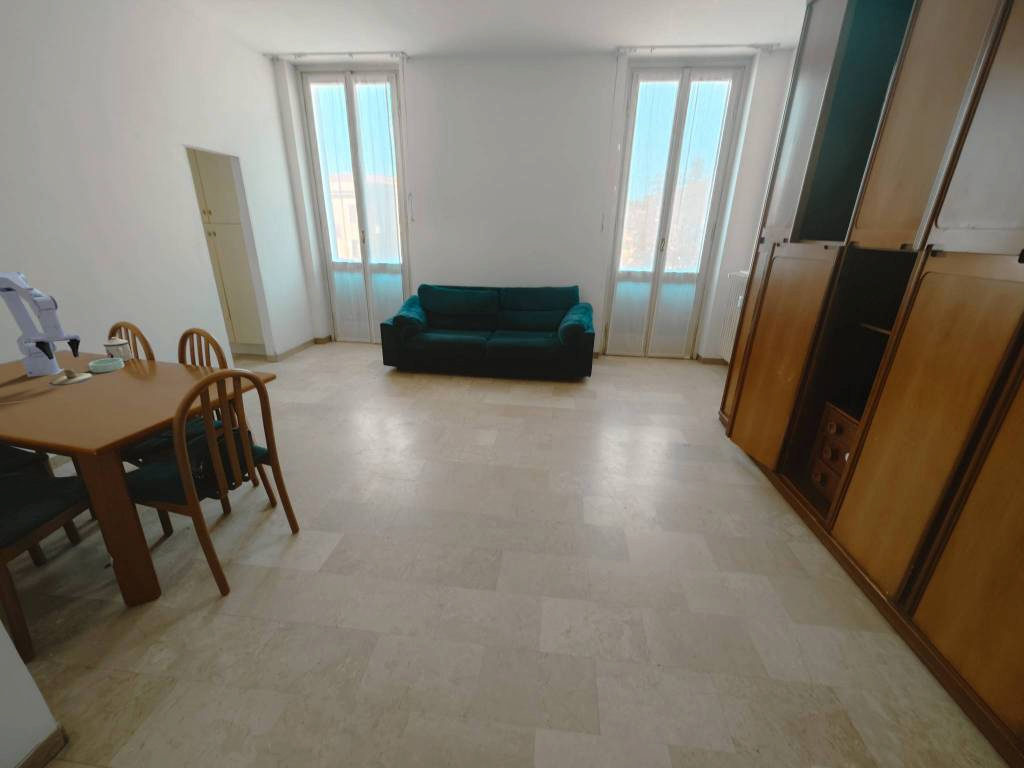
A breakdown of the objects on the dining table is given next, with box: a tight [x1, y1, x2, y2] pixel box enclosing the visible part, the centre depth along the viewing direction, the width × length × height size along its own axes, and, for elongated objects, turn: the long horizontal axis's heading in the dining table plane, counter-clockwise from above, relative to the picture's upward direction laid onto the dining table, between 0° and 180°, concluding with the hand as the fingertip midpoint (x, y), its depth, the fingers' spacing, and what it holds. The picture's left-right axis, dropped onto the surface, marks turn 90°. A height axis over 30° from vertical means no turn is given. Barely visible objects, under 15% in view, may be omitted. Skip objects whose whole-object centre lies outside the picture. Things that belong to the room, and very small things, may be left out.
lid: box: [51, 368, 93, 386], centre depth 172 cm, size 12×12×4 cm
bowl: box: [88, 358, 125, 373], centre depth 186 cm, size 11×11×4 cm
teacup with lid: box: [103, 336, 134, 362], centre depth 197 cm, size 12×9×12 cm
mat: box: [46, 373, 97, 387], centre depth 172 cm, size 12×12×1 cm
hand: (64, 357), depth 169 cm, fingers open, 7 cm apart
